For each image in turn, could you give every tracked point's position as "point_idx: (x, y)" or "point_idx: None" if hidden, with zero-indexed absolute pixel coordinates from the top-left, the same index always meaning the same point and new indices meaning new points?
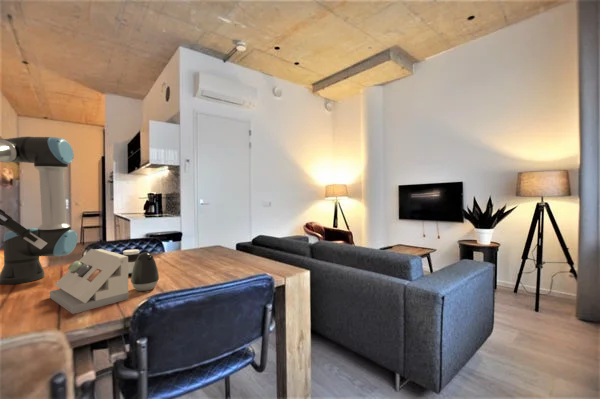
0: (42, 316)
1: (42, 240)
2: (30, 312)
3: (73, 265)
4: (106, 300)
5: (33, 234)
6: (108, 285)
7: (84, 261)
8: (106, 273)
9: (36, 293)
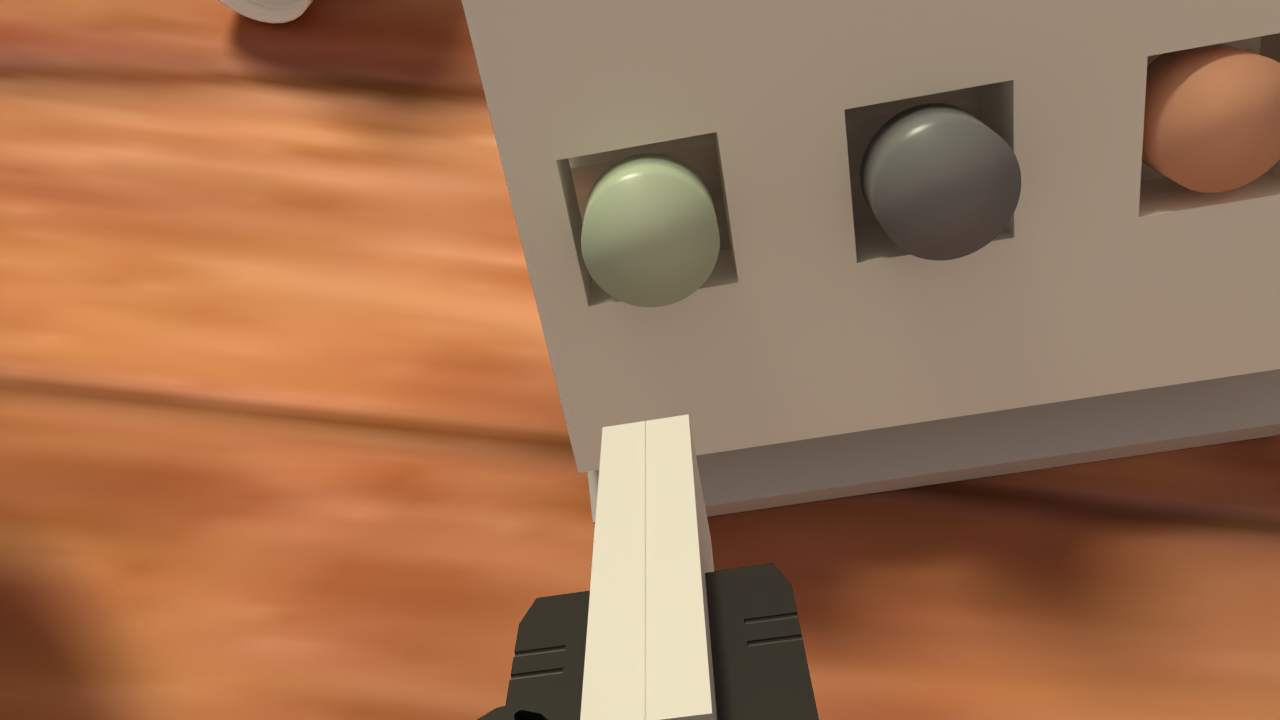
0: (1168, 636)
1: (695, 484)
2: (968, 706)
3: (674, 242)
4: None
5: (709, 644)
6: None
7: (666, 119)
8: None
9: (349, 611)
